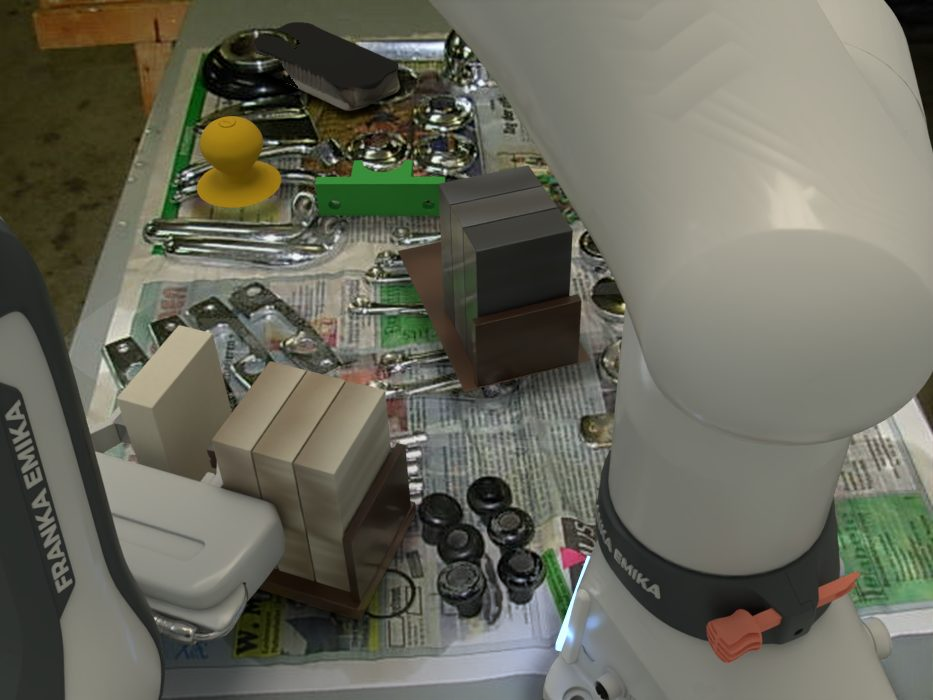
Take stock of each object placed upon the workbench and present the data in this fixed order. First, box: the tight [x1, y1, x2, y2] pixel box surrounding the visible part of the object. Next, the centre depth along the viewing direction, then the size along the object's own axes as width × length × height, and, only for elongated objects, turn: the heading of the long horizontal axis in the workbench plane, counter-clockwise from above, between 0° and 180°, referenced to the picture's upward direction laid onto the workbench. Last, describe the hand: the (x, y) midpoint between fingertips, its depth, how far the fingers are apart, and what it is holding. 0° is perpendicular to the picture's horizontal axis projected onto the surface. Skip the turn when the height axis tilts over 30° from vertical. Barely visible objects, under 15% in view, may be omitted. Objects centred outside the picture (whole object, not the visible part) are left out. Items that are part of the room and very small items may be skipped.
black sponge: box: [252, 21, 401, 112], centre depth 116 cm, size 16×8×4 cm, turn 48°
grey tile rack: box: [397, 164, 591, 393], centre depth 85 cm, size 18×10×13 cm, turn 18°
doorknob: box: [196, 115, 282, 209], centre depth 100 cm, size 8×8×8 cm
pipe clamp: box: [314, 159, 446, 217], centre depth 98 cm, size 11×4×5 cm, turn 88°
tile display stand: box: [212, 360, 417, 622], centre depth 69 cm, size 16×9×12 cm, turn 69°
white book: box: [116, 324, 233, 482], centre depth 71 cm, size 2×7×11 cm, turn 159°
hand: (183, 427), depth 71 cm, fingers open, 6 cm apart
